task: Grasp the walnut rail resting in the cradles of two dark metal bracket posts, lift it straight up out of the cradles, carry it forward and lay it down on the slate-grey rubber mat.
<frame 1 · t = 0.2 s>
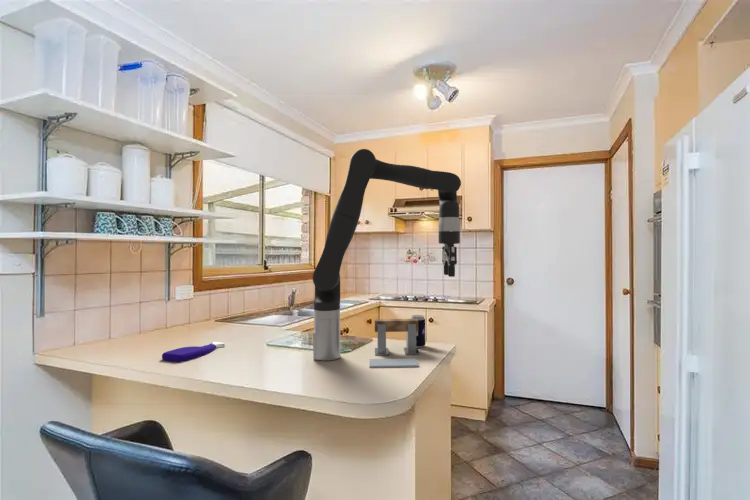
hand: (449, 275, 144), 29 cm above the countertop, fingers open, 8 cm apart
left post: (381, 352, 150), on the countertop
right post: (411, 351, 150), on the countertop
purple flat tapered piece: (197, 354, 152), on the countertop
mat: (393, 363, 135), on the countertop
beverage can: (418, 347, 158), on the countertop
rail: (396, 330, 150), point 8 cm above the countertop, touching left post, right post
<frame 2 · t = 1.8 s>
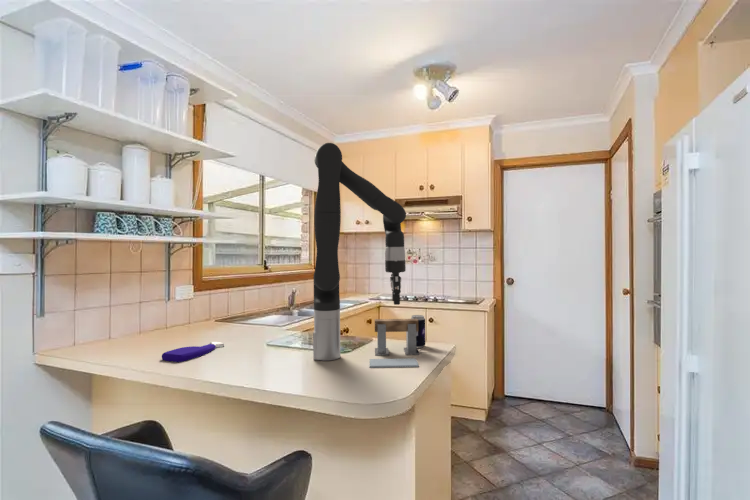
hand: (396, 302, 150), 18 cm above the countertop, fingers open, 8 cm apart
nothing on the countertop moved.
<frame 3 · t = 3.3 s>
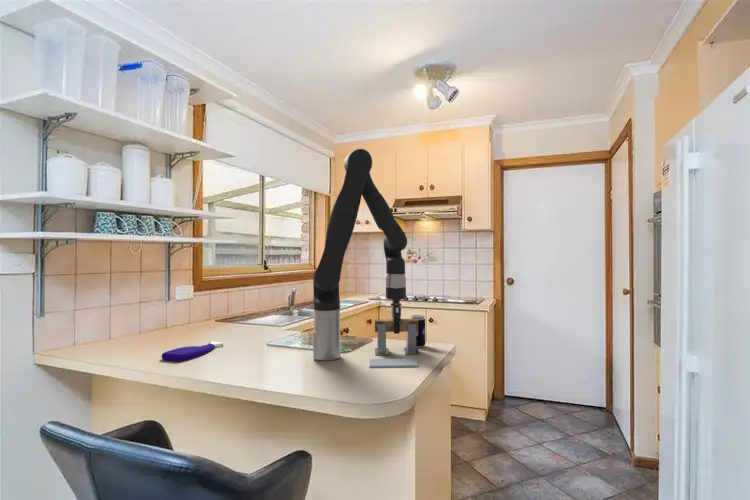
hand: (396, 331, 150), 8 cm above the countertop, fingers closed on rail, 4 cm apart
rail: (396, 330, 150), point 8 cm above the countertop, touching gripper, left post, right post
everything else where it was.
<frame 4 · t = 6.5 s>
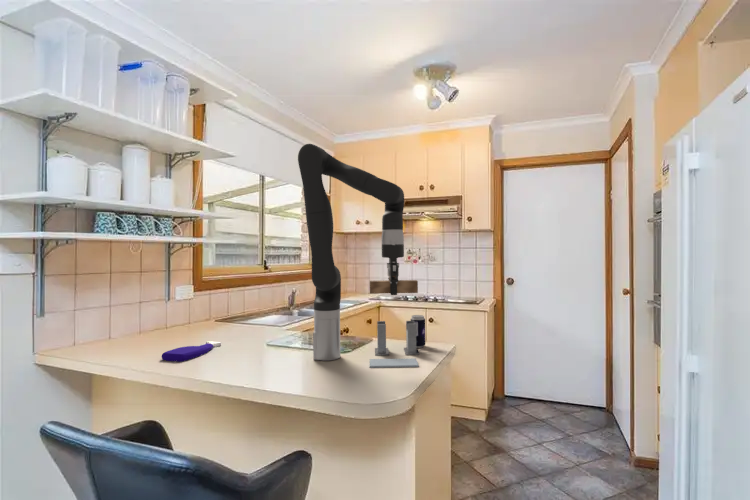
hand: (393, 293, 136), 23 cm above the countertop, fingers closed on rail, 4 cm apart
rail: (393, 292, 136), point 24 cm above the countertop, touching gripper
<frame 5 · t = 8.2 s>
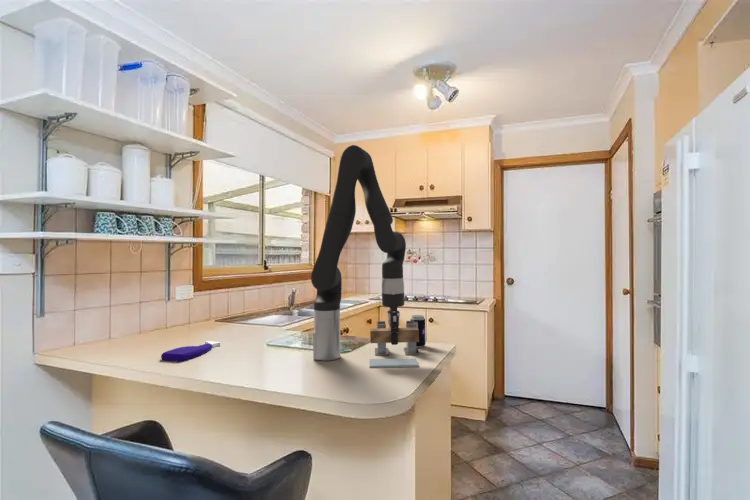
hand: (394, 342, 135), 7 cm above the countertop, fingers closed on rail, 4 cm apart
rail: (394, 341, 135), point 8 cm above the countertop, touching gripper
when the fingers open (2 cm above the countertop, at t = 9.7 s): rail drops 2 cm, resting on mat.
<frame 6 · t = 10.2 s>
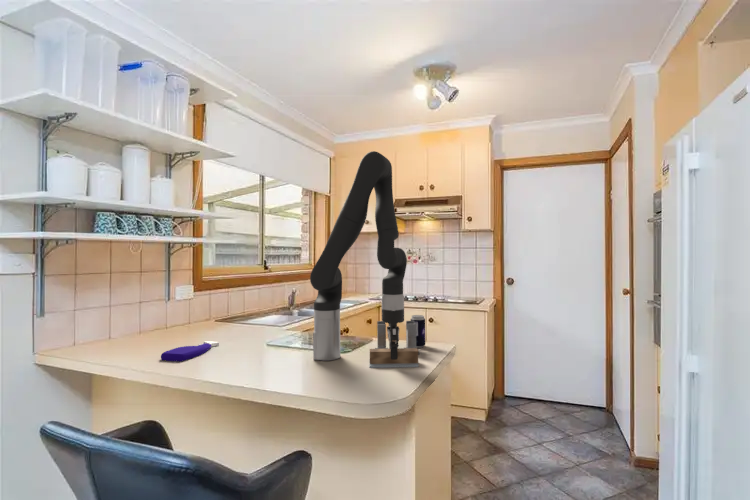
hand: (393, 355, 135), 3 cm above the countertop, fingers open, 8 cm apart
rail: (393, 361, 135), point 1 cm above the countertop, touching mat
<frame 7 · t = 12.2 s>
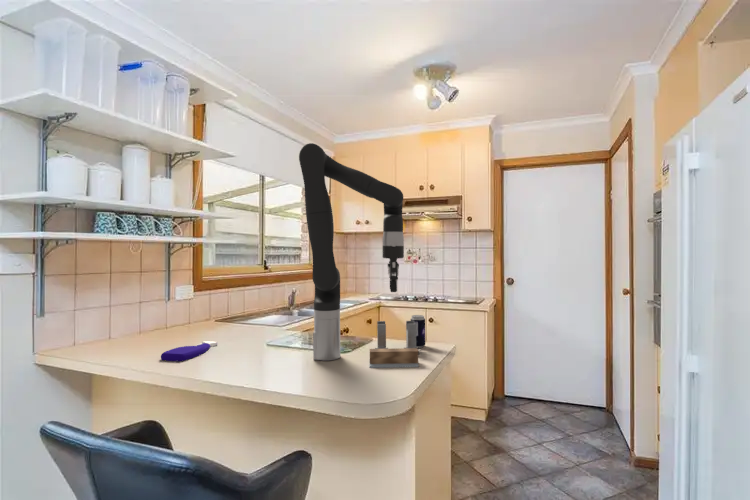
hand: (393, 290, 142), 24 cm above the countertop, fingers open, 8 cm apart
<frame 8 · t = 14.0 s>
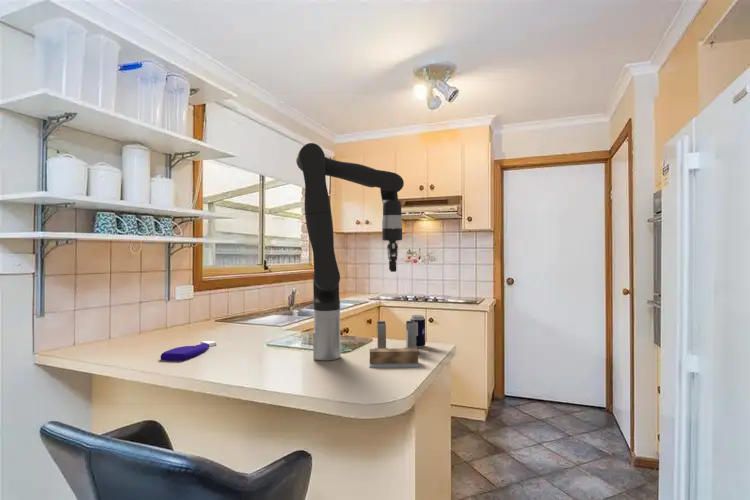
hand: (392, 270, 152), 30 cm above the countertop, fingers open, 8 cm apart
at the end: rail inside the target area on the mat (0.1 cm from its centre), point 0.6 cm above the mat's base; the gripper is holding nothing; rail moved 16.8 cm from its start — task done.
